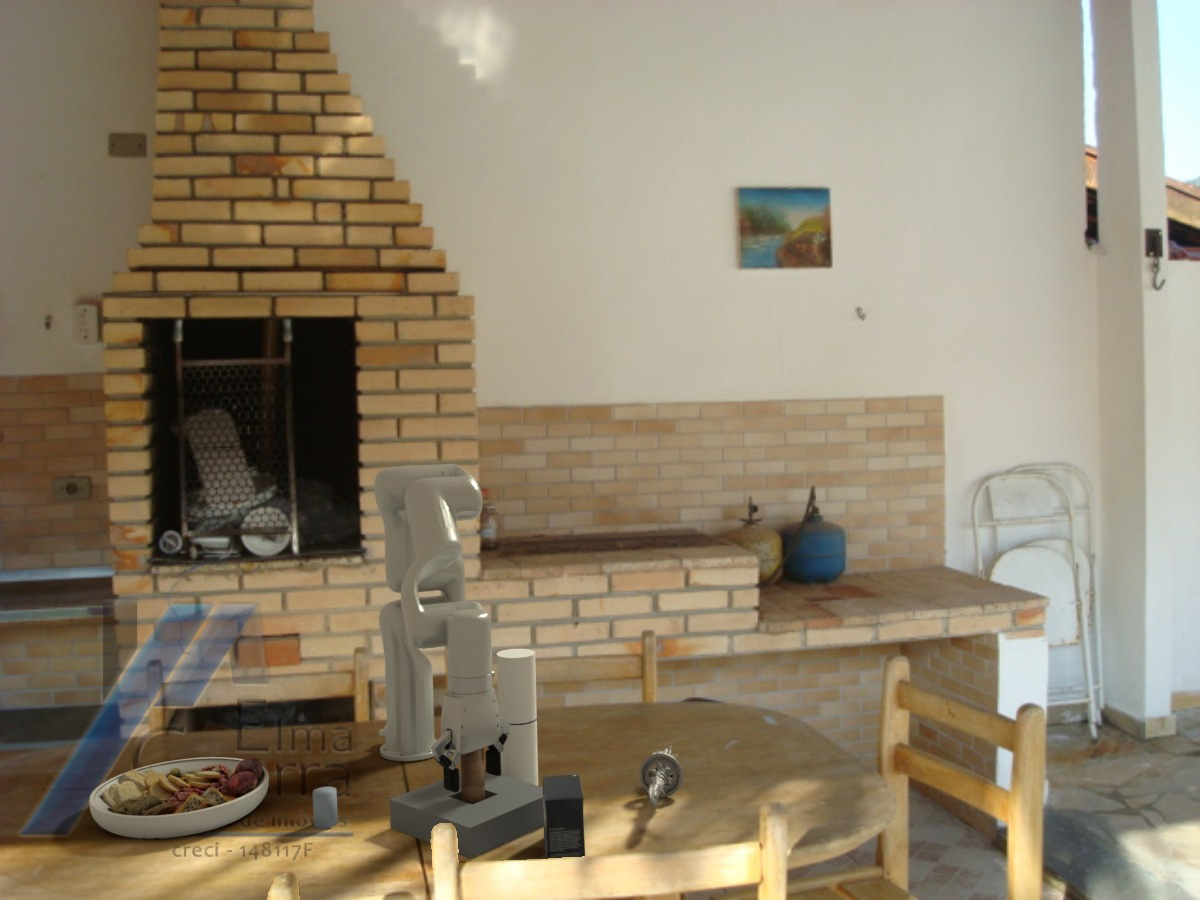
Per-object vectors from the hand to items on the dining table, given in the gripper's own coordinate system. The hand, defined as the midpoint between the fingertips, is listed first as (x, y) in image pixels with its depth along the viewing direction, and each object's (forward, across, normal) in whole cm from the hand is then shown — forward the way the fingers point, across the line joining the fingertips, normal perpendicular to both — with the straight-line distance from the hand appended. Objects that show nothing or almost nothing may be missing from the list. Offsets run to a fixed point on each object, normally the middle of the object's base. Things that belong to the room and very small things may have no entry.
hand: (473, 782), depth 194 cm
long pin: (+7, 0, 0) cm, 7 cm away
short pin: (+7, +16, -20) cm, 27 cm away
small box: (+8, -2, +19) cm, 21 cm away
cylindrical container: (+7, -18, -7) cm, 21 cm away
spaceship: (+8, -30, +18) cm, 35 cm away
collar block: (+7, 0, 0) cm, 7 cm away
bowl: (+8, +28, -46) cm, 54 cm away
